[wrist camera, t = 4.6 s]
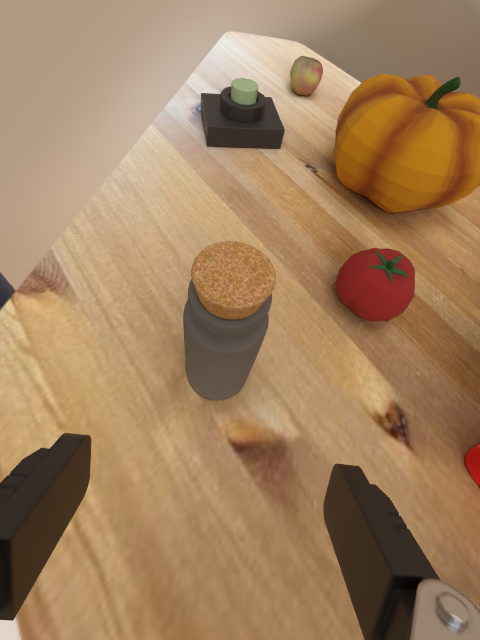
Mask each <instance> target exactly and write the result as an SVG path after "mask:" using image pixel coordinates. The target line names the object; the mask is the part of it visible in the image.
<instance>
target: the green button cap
mask: <svg viewBox="0 0 480 640" xmlns="http://www.w3.org/2000/svg"><path fill="white" fill-rule="evenodd" d="M257 92H258V85H257V84H256V83H255V82H254V81H252V80H249V79H244V78H238V79H235V80H233V81H232V86H231V97H230V98H231V100H233V101H234V102H236V103H239V104H242V105H252V104H255V103H256V99H257Z"/></svg>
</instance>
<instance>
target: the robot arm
mask: <svg viewBox="0 0 480 640" xmlns="http://www.w3.org/2000/svg"><path fill="white" fill-rule="evenodd" d="M90 461H91V437H90V436H89V435H80V434H71V433H64V434H63V435H62V436H61V437H60V438H59V439H58V440H57V441H56V442H55V443H54V445H53V446H52V447H51V448H50V449H46V448H41V449H39V450H37V451H36V452H34V453H32V454H31V455H29V456H27V457H26V458H24V459H23V460H22V461H21V462H20V463H19V464H18V465H17V466H16V467H15V468H14V469H13V470H12V472H11V473H10V475H9V476H7V477H6V478H5V479H4V480H3V481H2V482H1V483H0V620H12V621H13V620H14V618H15V616H16V615H17V613H18V611H19V610H20V608H21V606H22V604H23V603H24V601H25V599H26V597H27V596H28V594H29V592H30V590H31V589H32V587H33V585H34V583H35V582H36V580H37V578H38V576H39V575H40V573H41V571H42V569H43V568H44V566H45V564H46V562H47V561H48V559H49V557H50V555H51V554H52V552H53V550H54V548H55V547H56V545H57V543H58V541H59V540H60V538H61V536H62V534H63V533H64V531H65V529H66V527H67V526H68V524H69V522H70V520H71V519H72V517H73V515H74V513H75V512H76V510H77V508H78V506H79V505H80V503H81V501H82V499H83V498H84V495H85V493H86V490H87V487H88V484H89V479H90ZM323 510H324V520H325V524H326V527H327V530H328V533H329V535H330V538H331V541H332V544H333V547H334V550H335V553H336V556H337V559H338V562H339V565H340V568H341V571H342V574H343V577H344V580H345V583H346V586H347V589H348V592H349V595H350V598H351V601H352V604H353V607H354V610H355V612H356V615H357V618H358V621H359V624H360V627H361V630H362V633H363V636H364V639H365V640H480V611H479V610H478V609H477V608H476V606H475V605H474V604H473V603H472V602H471V601H470V600H469V599H468V598H467V597H466V596H465V595H464V594H462V593H461V592H460V591H459V590H457V589H456V588H454V587H453V586H451V585H449V584H447V583H445V582H443V581H441V580H440V579H439V577H438V576H437V574H436V572H435V571H434V569H433V568H432V566H431V564H430V563H429V561H428V560H427V558H426V556H425V555H424V553H423V551H422V550H421V548H420V547H419V545H418V543H417V542H416V540H415V539H414V537H413V535H412V534H411V532H410V530H409V529H407V526H406V524H405V522H404V521H403V519H402V518H401V516H399V513H398V511H397V510H396V508H395V506H394V505H393V503H392V501H391V500H390V498H389V497H388V496H387V495H386V494H385V493H384V492H383V491H381V490H380V489H379V488H378V487H377V486H376V485H374V484H370V483H369V481H368V480H367V478H366V476H365V474H364V473H363V471H362V469H361V468H360V467H359V466H353V465H344V464H335V465H334V467H333V469H332V473H331V477H330V480H329V484H328V488H327V492H326V496H325V500H324V509H323Z"/></svg>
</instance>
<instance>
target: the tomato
mask: <svg viewBox="0 0 480 640" xmlns="http://www.w3.org/2000/svg"><path fill="white" fill-rule="evenodd" d="M414 288H415V269H414V267H413V265H412V263H411V262H410V260H409V259H408V258H407V257H405V256H404V255H403V254H402V253H400V252H399V251H396V250H392V249H377V248H373V249H369V250H366V251H361V252H359V253H356V254H354V255H352V256H351V257H350V258H349V259H348V260H347V261H346V262H345V263H344V264H343V265H342V267H341V268H340V270H339V273H338V275H337V279H336V290H337V293H338V296H339V297H340V299H341V301H342V303H343V304H345V305H346V306H347V307H348V308H350V309H351V310H352V311H353V312H355V313H356V314H357V315H358V316H360V317H361V318H362V319H365V320H369V321H388V320H390V319H392V318H394V317H396V316H398V315H400V314H401V313H403V312H404V310H405V309H406V308H407V306H408V305H409V303H410V301H411V300H412V298H413V297H414Z"/></svg>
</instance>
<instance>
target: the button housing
mask: <svg viewBox="0 0 480 640" xmlns="http://www.w3.org/2000/svg"><path fill="white" fill-rule="evenodd" d="M230 97H231V87H227V88H225V89H224V90H223V91H222V92H221V94H208V93H201V116H202V121H203V127H204V132H205V138H206V143H207V146H211V147H242V148H274V149H280V147H281V143H282V139H283V135H284V131H285V130H284V127H283V125H282V123H281V120H280V118H279V115H278V113H277V110H276V108H275V105H274V103H273V100H272V98H271V97H264V95H263V94H261V93H260V92H257V99H256V103H255V104H252V105H242V104H239V103H236V102H234V101H233V100H231V98H230Z"/></svg>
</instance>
